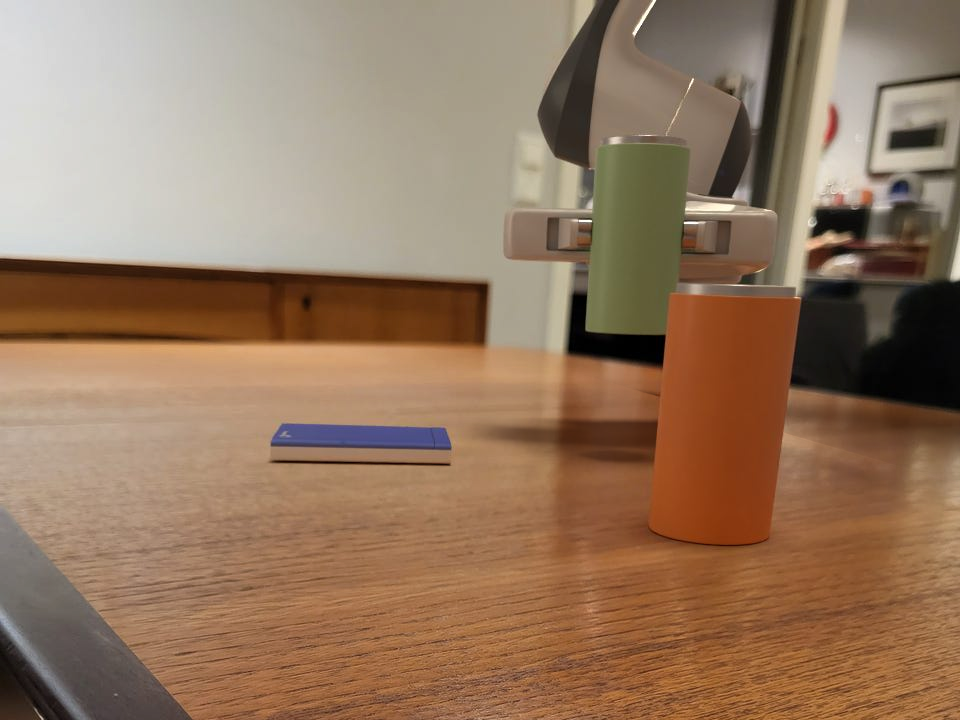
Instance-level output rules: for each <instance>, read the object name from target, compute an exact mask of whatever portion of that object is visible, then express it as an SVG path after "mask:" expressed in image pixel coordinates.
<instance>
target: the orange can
mask: <svg viewBox="0 0 960 720" xmlns="http://www.w3.org/2000/svg"><path fill="white" fill-rule="evenodd" d="M796 293H797V286H787V285H765V284H764V285H761V284H760V285H758V284H706V283H677V287H676V293H670V298H669V308H668V319H667V330H666V335H665V342H664V351H663V352H664V353H663V363H662V375H661V385H660V395H659V406H658V419H657V428H656V431H657V432H656V438H655V439H656V440H655V452H654V462H653V472H652V483H651V493H650V494H651V496H650V504H649V517H648V528H649V530H651V531H652V532H654V533H656V534H658V535H660V536H662V537H665V538H669V539H673V540H678V541H682V542H687V543H694V544H695V543H696V544H701V545H702V544H703V545H715V546H716V545H717V546H739V545H740V546H741V545H751V544H756V543H761V542H764V541H766V540H768V538H769V537H770V535H771V527H772V519H773V512H774V505H775V497H776V491H777V483H778V475H779V467H780V462H781V461H780V460H781V452H782V447H783V446H782V445H783V438H784V431H785V423H786V416H787V409H788V408H787V407H788V401H789V394H790V387H791V379H792V371H793V366H794V365H793V363H794V356H795V350H796V349H795V348H796V341H797V335H798V326H799V319H800V313H801V312H800V311H801V306H802V297H798V296H796Z"/></svg>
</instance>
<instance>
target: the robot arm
mask: <svg viewBox="0 0 960 720" xmlns="http://www.w3.org/2000/svg"><path fill="white" fill-rule="evenodd" d="M656 1H657V0H597V1H596V3H595V5H594V7H592V10H591V11H590V13H589V15H588V16H587V18H586V20H585V21H584V22H583V24H582V26H581V27H580V29H579V30H578V32H577V34H576V35H575V37H574V38H573V40H572V41H571V42H570V43H569V45H568V46H567V47H566V48H565V50H564V51H563V52H562V53H561V55H560V57H558V59H557V61H556V62H555V64H554V65H553V67H552V68H551V70H550V72H549V74H548V75H547V78H546V80H545V83H544V85H543V88H542V90H541V94H540V100H539V104H538V110H537V113H536V116H537V120H538V124H539V127H540V130H541V133H542V135H543V138H544V140H545V141H546V144H547V146H548V148H549V150H550V151H551V153H552V154H553V156H554V157H555V158H556V159H558V160H561V161H563V162H567V163H570V164H572V165H575V166H577V167H580V168H583V169H586V170H588V171H590V170H593V171H595V157H596V148H597V147H599V146H601V140H602V139H604V138H607V137H613V136H625V135H658V136H670V137H677V138H682V139H685V140H686V141H687V145H686V147H688V148H690V162H689V173H688V185H687V196H686V207H685V219H684V226H683V238H682V253H681V264H680V275H679V283H706V284H736V285H738V284H739V283H740V282H741V280H742V276H747V275H752V274H756V273H759V272H761V271H764V270H765V269H767V268H769V267H770V266H771V265H772V263H773V260H774V255H775V249H776V242H777V234H778V222H779V221H778V214H777V213H776V212H775V211H773V210H770V209H766V208H760V207H754V206H750V203H749V200H747V199H745V198H734V195H735V192H736V190H737V188H738V186H739V183H740V181H741V179H742V177H743V174H744V171H745V169H746V166H747V163H748V160H749V157H750V153H751V149H752V145H753V136H752V127H751V121H750V117H749V113H748V110H747V107H746V105H745V103H744V101H743V100H740V99H738V98H736V97H734V96H733V95H731V94H729V93H727V92H725V91H723V90H721V89H719V88H717V87H715V86H713V85H711V84H709V83H708V82H705V81H702V80H701V79H699V78H696V77H694V78H693V77H692V76H690V75H688V74H686V73H683V72H682V71H680V70H677V69H675V68H673V67H671V66H669V65H667V64H665V63H663V62H660V61H658V60H656V59H654V58H653V57H651V56H648V55H646V54H645V53H643V52H642V51H640V50H639V49H638V47H637V46H636V44H635V36H636V34H637V32H638V31H639V29H640V27H641V25H642V24H643V22H644V21H645V19H646V18H647V16H648V15H649V13H650V12H651V10H652V8H653V6H654V4H655V3H656ZM591 230H592V208H566V207H565V208H561V207H558V208H555V207H547V208H546V207H514V208H513V207H512V208H508V209H507V210H506V211H505V212H504V217H503V233H502V234H503V237H502V238H503V239H502V240H503V241H502V243H503V245H502V247H503V251H502V252H503V255H504V257H505V258H506V259H507V260H511V261H520V262H521V261H522V262H542V263H543V262H547V263H550V262H551V263H585V264H586V267H587V268H588V269H589V260H590V246H591Z"/></svg>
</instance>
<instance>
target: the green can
mask: <svg viewBox="0 0 960 720" xmlns="http://www.w3.org/2000/svg"><path fill="white" fill-rule="evenodd" d="M686 145H687V141H686V140H685V139H682V138H677V137H670V136H658V135H625V136H613V137H607V138H604V139H602V140H601V146H599V147H597V148H596V157H595V170H594V178H593V192H592V193H593V194H592V208H591V209H592V230H591V246H590V260H589V268H588V276H587V277H588V278H587V279H588V280H587V294H586V295H587V297H586V312H585V313H586V314H585V332H588V333H597V334H598V333H599V334H612V335H632V336H633V335H636V336H640V335H641V336H666V330H667V319H668V308H669V298H670V293H676V287H677V283H679V275H680V264H681V253H682V238H683V226H684V219H685V207H686V196H687V185H688V173H689V162H690V148H688V147H686Z"/></svg>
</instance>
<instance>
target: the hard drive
mask: <svg viewBox="0 0 960 720" xmlns="http://www.w3.org/2000/svg"><path fill="white" fill-rule="evenodd" d="M269 443H270V446H269V449H270V450H269V451H270V452H269V453H270V460H271V461H273V462H274V461H280V462H281V461H283V462H284V461H285V462H287V461H288V462H296V461H297V462H335V463H336V462H338V463H339V462H341V463H345V462H346V463H387V464H388V463H390V464H391V463H395V464H396V463H397V464H451V463H452V449H453V448H452V442H451V439H450V436H449V433H448V431H447V428H446V427H439V426H437V427H436V426H435V427H434V426H431V427H427V426H422V427H421V426H398V425H397V426H396V425H395V426H394V425H362V424H361V425H357V424H329V423H328V424H325V423H324V424H323V423H291V422H290V423H287V422H286V423H283V422H282V423H281V424H280V425H279V426H278V428H277V429H276V431H275V432H274V434H273V436H272V437H271V439H270V442H269Z"/></svg>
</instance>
